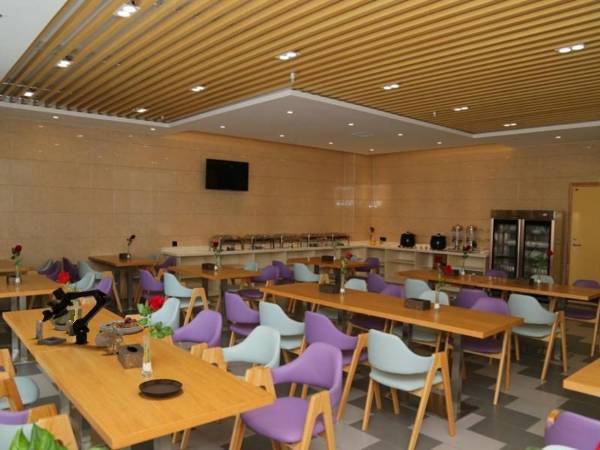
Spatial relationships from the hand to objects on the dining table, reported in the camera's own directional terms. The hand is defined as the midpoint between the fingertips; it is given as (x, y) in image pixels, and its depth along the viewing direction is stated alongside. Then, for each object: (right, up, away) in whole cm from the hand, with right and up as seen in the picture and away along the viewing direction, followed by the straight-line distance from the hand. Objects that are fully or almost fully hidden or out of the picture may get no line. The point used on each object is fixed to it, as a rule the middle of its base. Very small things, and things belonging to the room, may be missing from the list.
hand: (47, 320), depth 336 cm
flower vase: (+48, -15, -20) cm, 54 cm away
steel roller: (-7, -12, +2) cm, 14 cm away
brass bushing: (+6, -12, +19) cm, 23 cm away
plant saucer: (+100, -18, -90) cm, 135 cm away
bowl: (+38, -14, +32) cm, 51 cm away
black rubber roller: (+11, -13, +14) cm, 21 cm away
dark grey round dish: (+6, -13, -7) cm, 16 cm away
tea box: (-2, -12, +33) cm, 35 cm away
